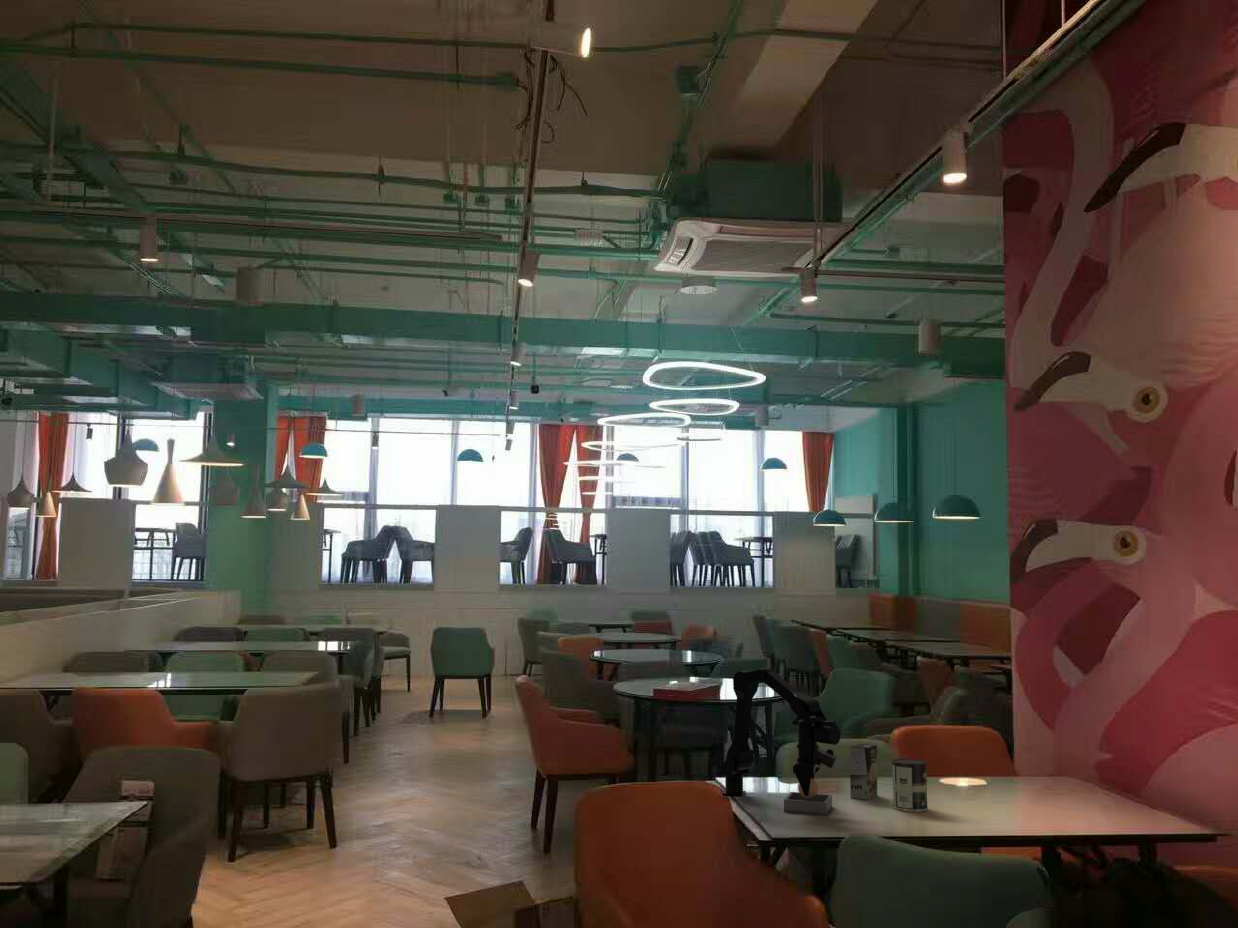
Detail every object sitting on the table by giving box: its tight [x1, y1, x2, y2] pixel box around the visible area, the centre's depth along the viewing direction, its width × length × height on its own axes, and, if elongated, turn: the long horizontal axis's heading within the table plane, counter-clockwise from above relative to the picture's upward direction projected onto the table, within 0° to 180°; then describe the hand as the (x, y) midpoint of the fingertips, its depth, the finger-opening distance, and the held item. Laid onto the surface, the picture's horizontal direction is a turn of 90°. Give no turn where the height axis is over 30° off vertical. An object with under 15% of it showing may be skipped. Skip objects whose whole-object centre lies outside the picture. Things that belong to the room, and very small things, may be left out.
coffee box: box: [849, 743, 878, 800], centre depth 326 cm, size 9×6×16 cm
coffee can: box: [891, 758, 928, 813], centre depth 309 cm, size 10×10×14 cm
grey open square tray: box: [783, 791, 833, 816], centre depth 305 cm, size 13×13×4 cm
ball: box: [797, 778, 819, 798], centre depth 306 cm, size 6×6×6 cm
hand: (808, 793), depth 306 cm, fingers closed on ball, 6 cm apart
